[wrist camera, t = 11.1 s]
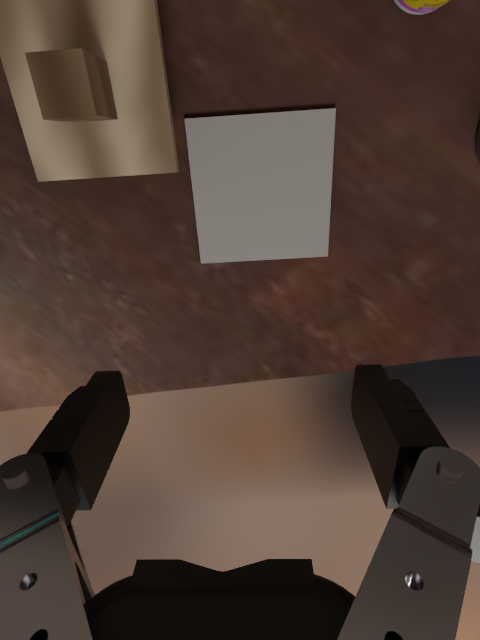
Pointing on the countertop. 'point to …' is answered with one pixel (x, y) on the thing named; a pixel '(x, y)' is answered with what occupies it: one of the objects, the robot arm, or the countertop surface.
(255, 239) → the mat
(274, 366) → the countertop surface
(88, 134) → the lid
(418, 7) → the supplement bottle
